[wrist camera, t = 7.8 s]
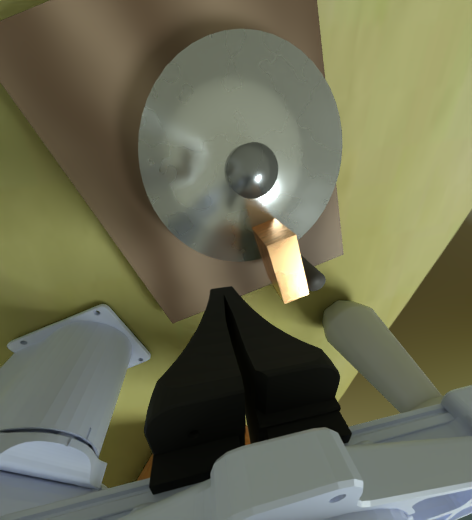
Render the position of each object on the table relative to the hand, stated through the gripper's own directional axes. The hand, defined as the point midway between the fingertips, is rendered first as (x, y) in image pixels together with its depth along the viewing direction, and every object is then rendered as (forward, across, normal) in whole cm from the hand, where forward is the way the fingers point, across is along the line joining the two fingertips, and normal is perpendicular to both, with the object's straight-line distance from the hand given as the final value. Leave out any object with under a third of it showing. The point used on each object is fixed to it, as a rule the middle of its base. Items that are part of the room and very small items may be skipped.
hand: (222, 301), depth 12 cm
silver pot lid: (+5, -3, -6) cm, 8 cm away
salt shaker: (+7, -14, +9) cm, 18 cm away
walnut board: (+7, -1, -6) cm, 9 cm away
